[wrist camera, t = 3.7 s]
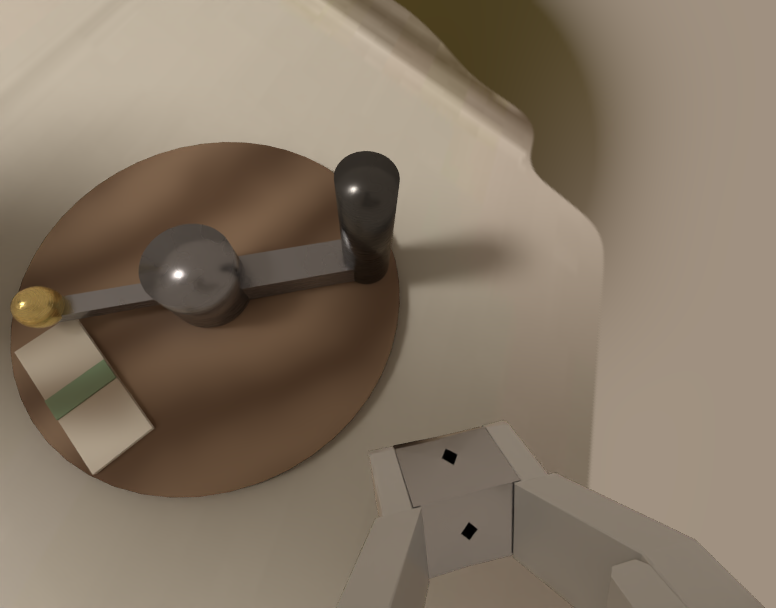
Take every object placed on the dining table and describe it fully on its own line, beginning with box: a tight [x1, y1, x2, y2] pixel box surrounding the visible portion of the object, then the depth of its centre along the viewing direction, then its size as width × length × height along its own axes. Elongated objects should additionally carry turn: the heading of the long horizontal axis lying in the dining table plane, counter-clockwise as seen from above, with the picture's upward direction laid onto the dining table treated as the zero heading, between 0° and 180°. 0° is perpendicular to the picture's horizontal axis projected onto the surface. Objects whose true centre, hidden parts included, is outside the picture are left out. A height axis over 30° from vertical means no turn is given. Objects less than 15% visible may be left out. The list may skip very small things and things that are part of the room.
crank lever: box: [10, 151, 400, 328], centre depth 21 cm, size 5×22×9 cm, turn 108°
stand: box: [11, 142, 400, 497], centre depth 26 cm, size 24×24×1 cm
